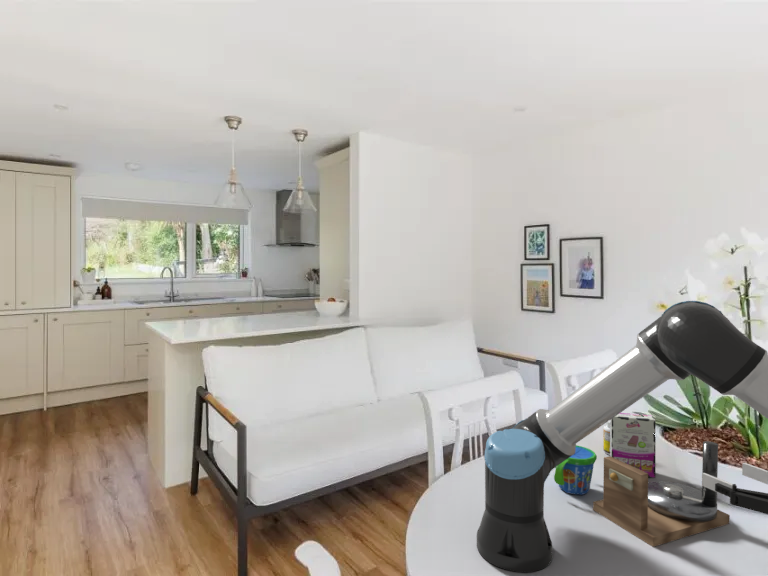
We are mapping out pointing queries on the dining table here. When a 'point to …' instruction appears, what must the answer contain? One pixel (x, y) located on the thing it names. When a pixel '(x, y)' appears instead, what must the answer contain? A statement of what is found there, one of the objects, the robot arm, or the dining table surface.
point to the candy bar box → (634, 441)
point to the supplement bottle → (607, 438)
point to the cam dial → (687, 493)
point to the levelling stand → (643, 507)
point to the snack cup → (576, 471)
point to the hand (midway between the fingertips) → (723, 473)
